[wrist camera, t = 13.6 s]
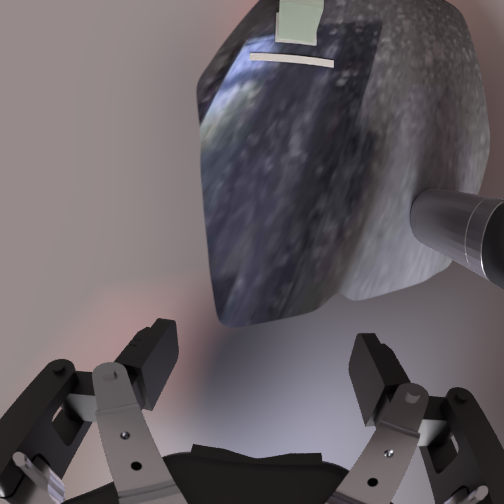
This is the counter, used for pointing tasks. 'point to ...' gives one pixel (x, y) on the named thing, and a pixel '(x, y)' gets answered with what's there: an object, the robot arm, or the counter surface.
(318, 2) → the sage block
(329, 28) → the counter surface
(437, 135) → the counter surface
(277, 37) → the mat
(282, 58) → the pale grey thin rod
